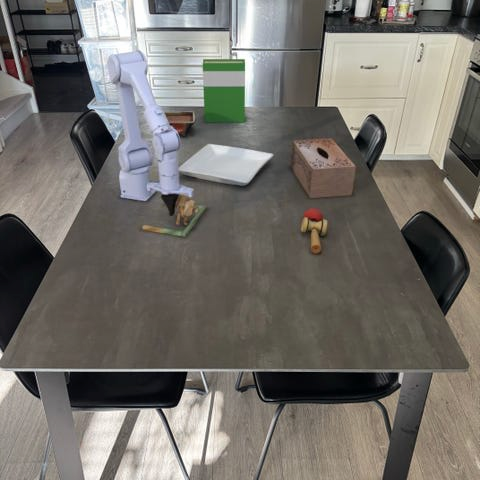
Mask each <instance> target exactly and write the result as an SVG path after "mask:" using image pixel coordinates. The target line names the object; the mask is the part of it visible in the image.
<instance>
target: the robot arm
mask: <svg viewBox="0 0 480 480" xmlns="http://www.w3.org/2000/svg"><path fill="white" fill-rule="evenodd" d="M106 65H107V70H108V77H109V80H110V81H109V82H110V83H111V84H112V85H114V86H115V90H116V95H117V102H118V107H119V113H120V118H121V123H122V128H123V133H124V140H123V142H122V143H121V144H120V145H119V146H118V163H119V166H120V168H121V169H120V171H119V176H118V180H119V187H120V193H121V194H120V198H122V199H128V200H136V201H142V202H147V201H148V200H149V199H150V198H151V197H152V196H153V195H154V194H155V193H156V192H160V193H161V195H160V199H161V200H162V202H163V203H164V204H165V206H166V208H167V211H168V216H169V217H173V216H175V215H174V213H175V208H176V207H175V205H176V202H177V200H178V198H179V196H180V195H186V196H187V197H188V198H193V197H194V195H195V189H194V188H191V187H188V186H185V185H183V184H180V172H179V170H178V168H179V158H178V157H179V156H178V150H180V149H181V145H182V141H181V137H180V134H178V132H177V131H176V130H175V129H174V128H173V126H170V124H169V122H168V120H167V118H166V115H165V113H164V112H165V110H164V108H163V107H162V106H161V105H158V104H157V102H156V99H155V96H154V93H153V91H152V88H151V85H150V82H149V79H148V77H147V76H148V67H149V66H148V61H147V58H146V55H145V54H144V52H143V51H142V50H140V49H137V50H135V51H134V50H133V51H129V52H127V51H126V52H121V53H115V54H114V53H111V54H110V55H108V58H107V60H106ZM135 94H136V96H137V98H138V100H139V101H140V103H141V105H142V106H143V108H144V112H143V117H144V120H145V123H146V125H147V127H148V129H149V131H150V133H151V136H152V142H151V144H152V148H153V150H154V153H153V152H152V149H151V145H150V143H149V142H148V141H147V140H145V139H143V138H142V133H141V127H140V122H139V115H138V109H137V104H136V97H135ZM154 154H155V155H154ZM154 156H155V158H156V159H157V164H158V165H157V166H158V178H159V182H151V178H150V170H151V166H153V164H154Z"/></svg>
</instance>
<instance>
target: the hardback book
mask: <svg viewBox="0 0 480 480" xmlns="http://www.w3.org/2000/svg"><path fill="white" fill-rule="evenodd" d="M202 61H203V62H202V83H203V84H202V85H203V87H202V89H203V111H204V112H203V113H204V115H203V116H204V123H245V121H246V59H245V58H203V59H202Z"/></svg>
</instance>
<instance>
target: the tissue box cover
mask: <svg viewBox="0 0 480 480" xmlns="http://www.w3.org/2000/svg"><path fill="white" fill-rule="evenodd" d="M290 161H291V162H290V169H291V170H292V172H293V173H294V175H295V176H296V178H297V180H298V181H299V183H300V185H301V186H302V188H303V190H304V191H305V192H306V194H307V195H308V197H309V199H318V198H331V197H344V196H345V197H347V196H352V195H353V189H354V183H355V182H354V181H355V176H356V168H357V166H356V165H355V163H354V162H352V160H351V159H350V158H349V157H348V155H347V154H346V153H345V152H344V151H343V150H342V148H340V146H339V145H338V144H337V142H336V141H334V139H333V138H332V137H329V138H312V139H297V140H292V146H291V160H290Z"/></svg>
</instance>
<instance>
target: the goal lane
mask: <svg viewBox="0 0 480 480" xmlns="http://www.w3.org/2000/svg"><path fill="white" fill-rule="evenodd" d="M176 204H177V201H176ZM195 205H196V207H197V208H198V209H199V211H198V212H197V213H196V215H195V214H194V217H193V218H192V219H191V220H190V221H189V222H188V225H185V228H184V229H183V230H176V229H171V228H164V227H158V226H153V225H146V224H143V225H142V227H141V228H142V230H143V231H147V232H153V233H154V232H155V233H160V234H165V235H172V236H178V237H184V238H185V237H186V236H187V235H188V233H190V231H191V230H192V228H193V227H194V226H195V225H196V223H197V222H198V221H199V220H200V218H201V217H202V216H203V215H204V213H206V211H207V210H208V208H207V205H199V204H195ZM175 206H176V205H175Z"/></svg>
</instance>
